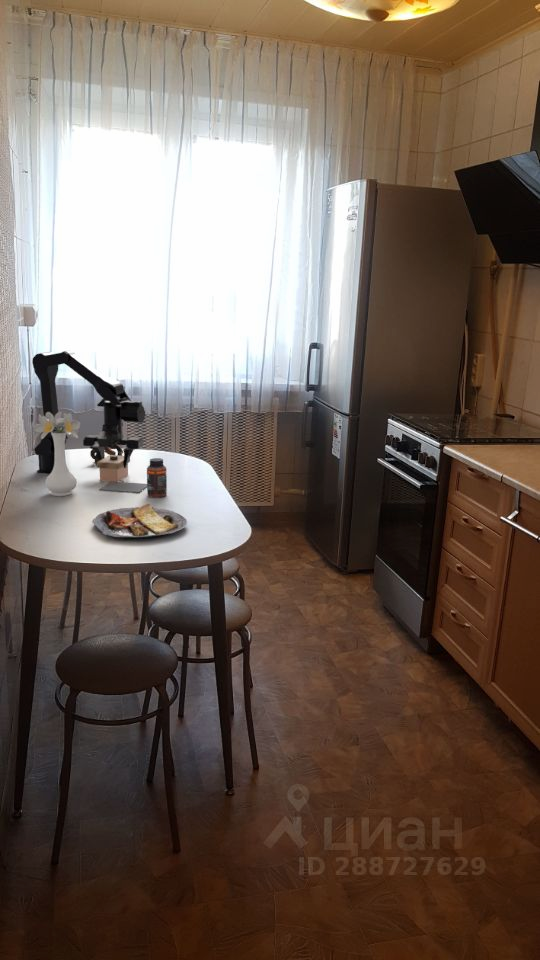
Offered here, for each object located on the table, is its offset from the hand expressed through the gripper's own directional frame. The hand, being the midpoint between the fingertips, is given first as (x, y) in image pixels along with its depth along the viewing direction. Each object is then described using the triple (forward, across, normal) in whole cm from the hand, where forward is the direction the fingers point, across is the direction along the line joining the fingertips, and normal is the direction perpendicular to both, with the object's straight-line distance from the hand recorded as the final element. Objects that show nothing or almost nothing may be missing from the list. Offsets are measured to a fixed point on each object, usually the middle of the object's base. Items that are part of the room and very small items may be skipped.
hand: (114, 467), depth 252 cm
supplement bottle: (+4, +20, -17) cm, 27 cm away
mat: (+4, +8, -11) cm, 14 cm away
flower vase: (+4, -9, -22) cm, 24 cm away
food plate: (+4, +25, -48) cm, 54 cm away
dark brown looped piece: (+4, -11, +20) cm, 23 cm away
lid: (-1, 0, 0) cm, 1 cm away
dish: (+4, 0, 0) cm, 4 cm away
